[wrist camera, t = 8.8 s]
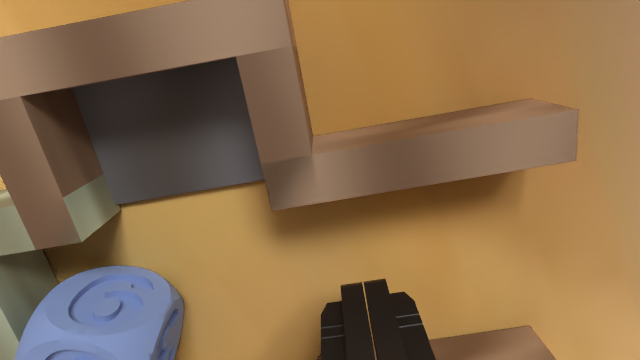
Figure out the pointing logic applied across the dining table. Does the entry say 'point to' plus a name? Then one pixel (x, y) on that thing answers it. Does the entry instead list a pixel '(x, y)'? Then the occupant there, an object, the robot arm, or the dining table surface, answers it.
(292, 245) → the dining table surface
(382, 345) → the robot arm
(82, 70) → the trap channel
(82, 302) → the decorative dice
